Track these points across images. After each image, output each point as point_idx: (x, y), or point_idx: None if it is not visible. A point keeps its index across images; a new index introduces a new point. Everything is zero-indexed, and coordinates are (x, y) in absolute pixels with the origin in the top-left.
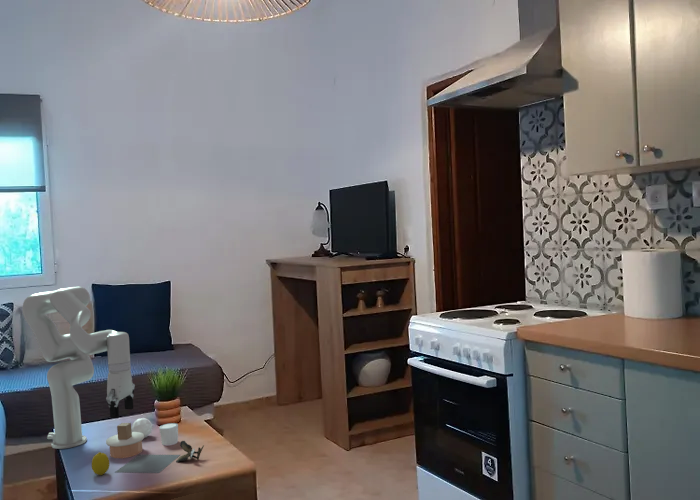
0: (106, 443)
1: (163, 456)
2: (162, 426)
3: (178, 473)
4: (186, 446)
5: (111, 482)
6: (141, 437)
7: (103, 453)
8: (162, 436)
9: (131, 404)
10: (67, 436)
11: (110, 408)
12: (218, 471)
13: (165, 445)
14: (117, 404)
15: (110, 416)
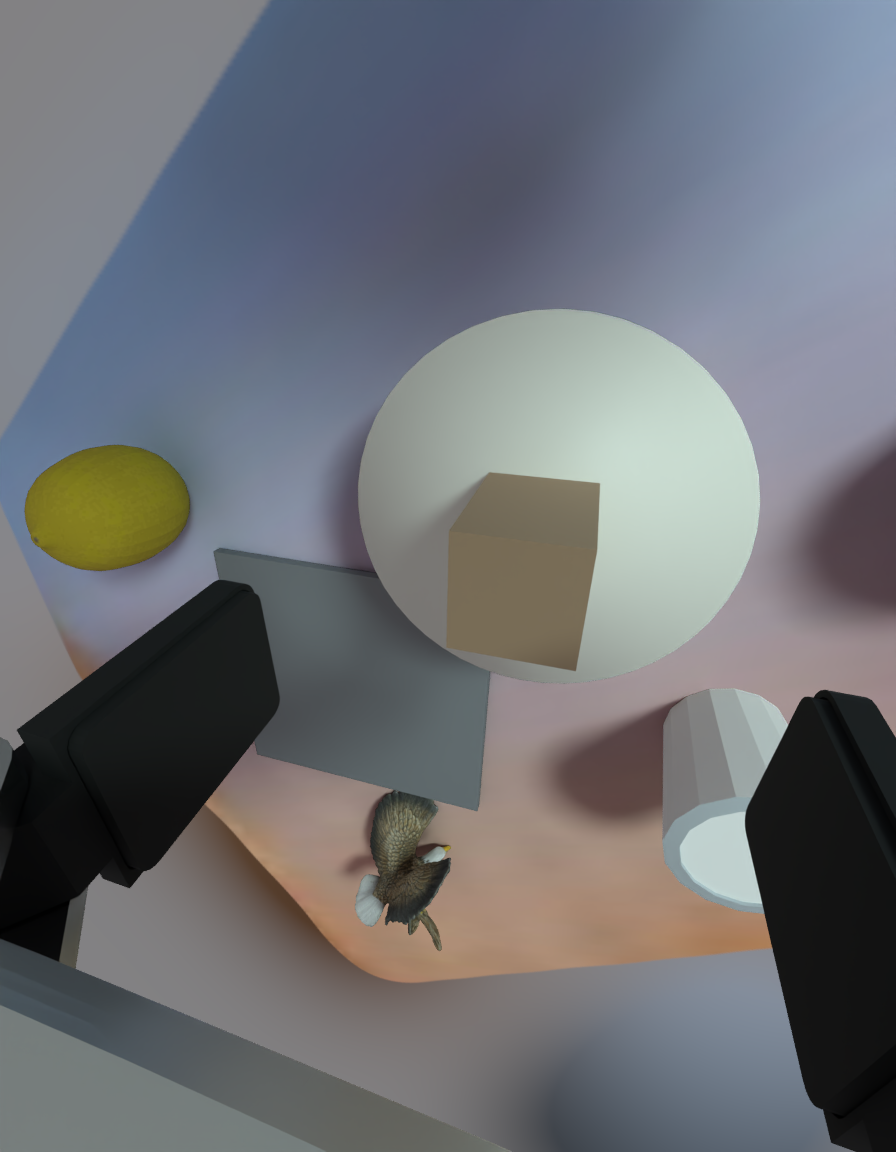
0: (416, 366)
1: (455, 741)
2: None
3: (286, 810)
4: (392, 904)
5: (134, 575)
6: (533, 675)
7: (71, 556)
8: (678, 761)
9: (768, 921)
10: None
11: (70, 711)
12: (325, 912)
13: (668, 721)
14: (62, 931)
15: (210, 590)
